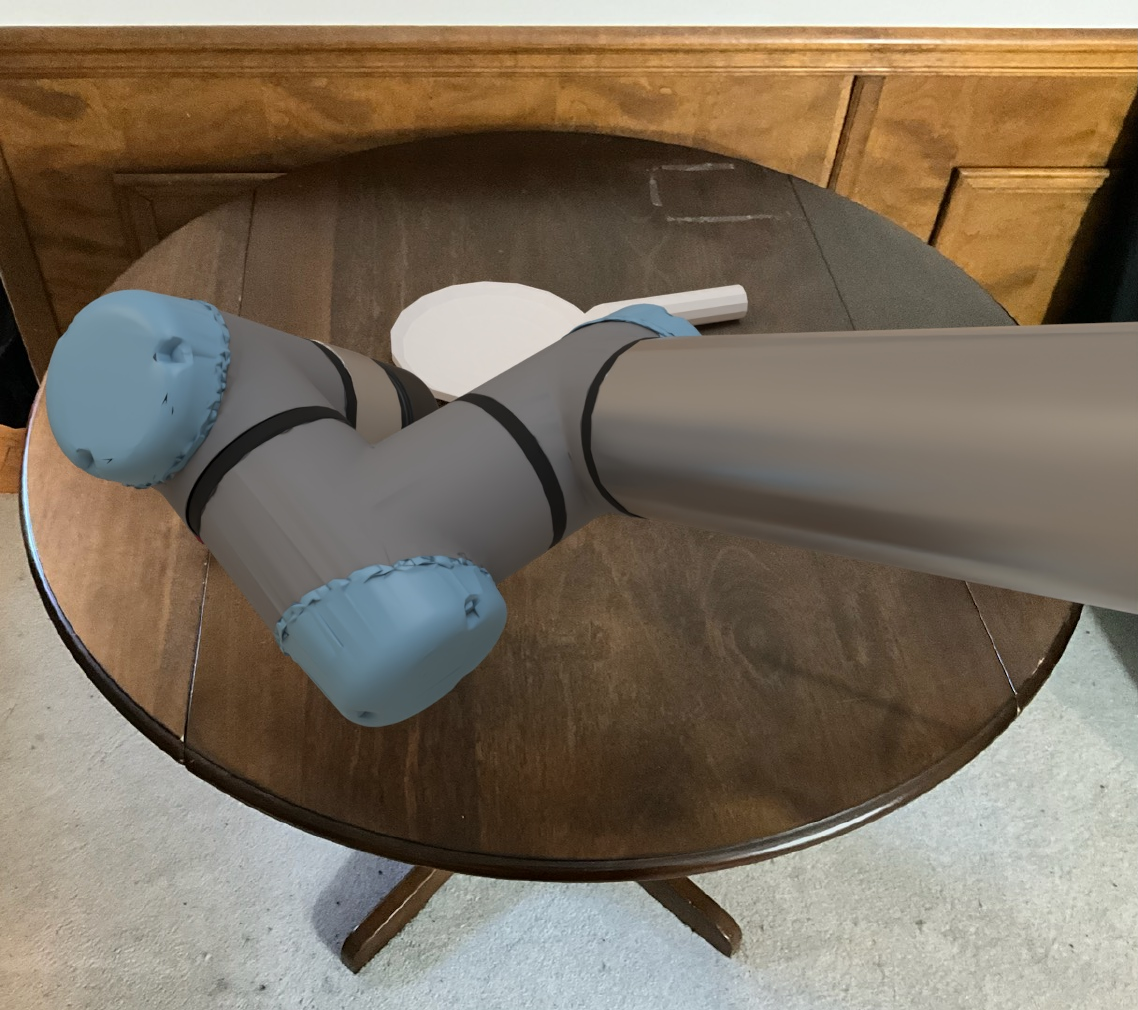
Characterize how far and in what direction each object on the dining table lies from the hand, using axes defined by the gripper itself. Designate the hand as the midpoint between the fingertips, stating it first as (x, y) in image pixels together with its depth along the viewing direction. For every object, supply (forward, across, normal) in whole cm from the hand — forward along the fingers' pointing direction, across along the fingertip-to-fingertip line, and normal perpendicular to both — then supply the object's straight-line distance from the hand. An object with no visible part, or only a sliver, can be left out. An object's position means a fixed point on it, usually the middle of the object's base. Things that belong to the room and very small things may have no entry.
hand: (536, 466), depth 74 cm
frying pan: (+25, -13, +9) cm, 29 cm away
